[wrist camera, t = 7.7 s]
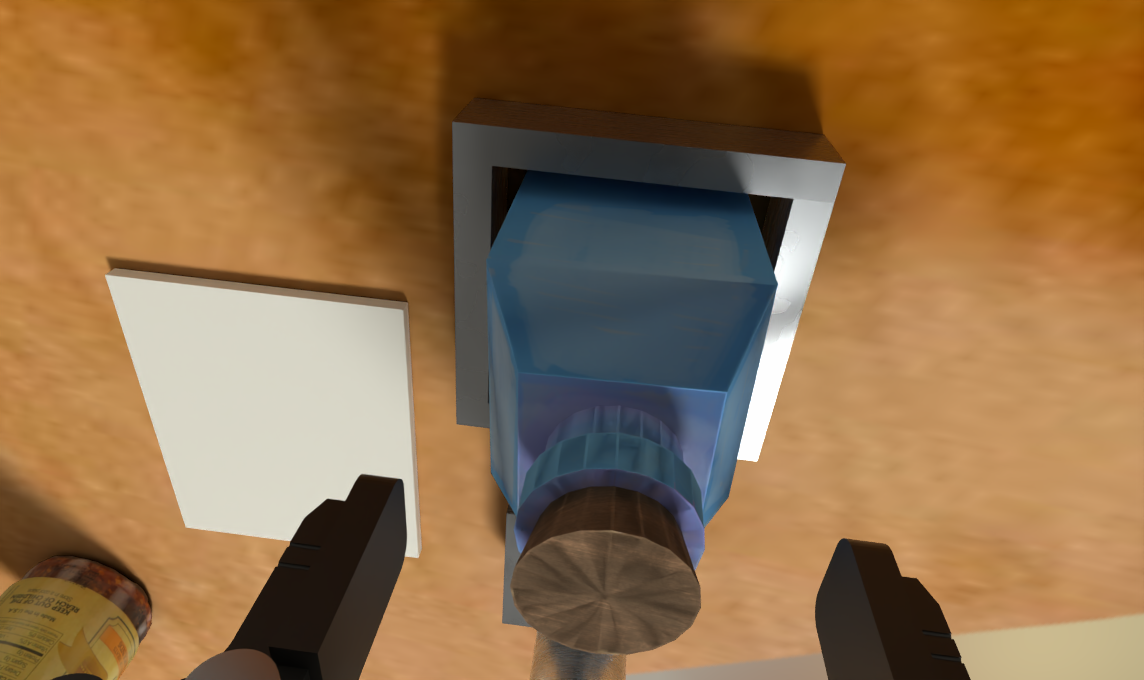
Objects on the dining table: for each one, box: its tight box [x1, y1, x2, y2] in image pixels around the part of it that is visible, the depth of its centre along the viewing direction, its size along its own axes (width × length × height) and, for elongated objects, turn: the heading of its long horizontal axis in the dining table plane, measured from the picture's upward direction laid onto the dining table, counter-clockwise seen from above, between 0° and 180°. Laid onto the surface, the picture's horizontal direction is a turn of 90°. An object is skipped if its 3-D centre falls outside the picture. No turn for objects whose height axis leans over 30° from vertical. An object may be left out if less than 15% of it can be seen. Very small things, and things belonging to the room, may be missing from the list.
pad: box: [105, 268, 422, 558], centre depth 26 cm, size 12×10×1 cm
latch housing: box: [452, 98, 846, 627], centre depth 23 cm, size 19×10×3 cm, turn 175°
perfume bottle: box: [486, 170, 778, 655], centre depth 16 cm, size 6×6×12 cm
